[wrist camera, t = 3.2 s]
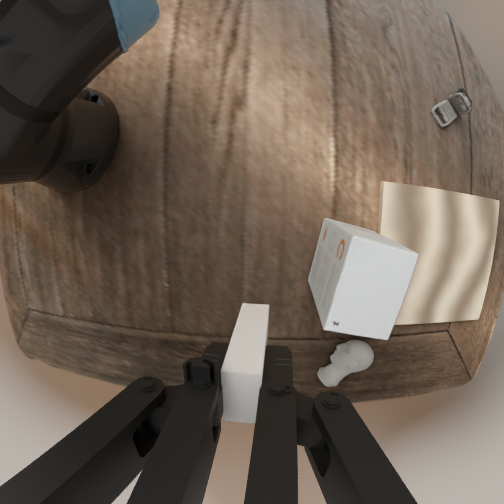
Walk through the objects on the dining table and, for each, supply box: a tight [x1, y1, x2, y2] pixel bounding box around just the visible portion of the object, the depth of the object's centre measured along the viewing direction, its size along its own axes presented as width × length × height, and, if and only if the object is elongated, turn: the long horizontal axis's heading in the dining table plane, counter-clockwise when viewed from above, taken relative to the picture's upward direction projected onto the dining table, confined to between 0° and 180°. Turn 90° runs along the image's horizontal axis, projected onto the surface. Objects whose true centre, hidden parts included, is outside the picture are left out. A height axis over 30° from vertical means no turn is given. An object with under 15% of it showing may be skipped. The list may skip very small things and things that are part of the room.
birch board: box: [377, 181, 499, 325], centre depth 32 cm, size 20×18×1 cm
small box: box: [308, 218, 419, 340], centre depth 27 cm, size 8×6×13 cm
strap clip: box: [430, 88, 472, 127], centre depth 26 cm, size 8×3×4 cm, turn 128°
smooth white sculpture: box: [317, 340, 374, 387], centre depth 35 cm, size 4×8×5 cm
